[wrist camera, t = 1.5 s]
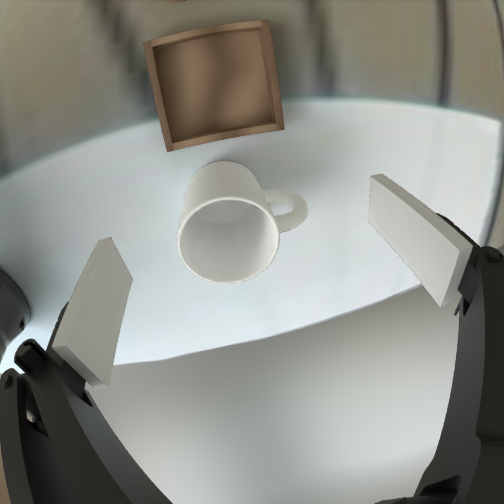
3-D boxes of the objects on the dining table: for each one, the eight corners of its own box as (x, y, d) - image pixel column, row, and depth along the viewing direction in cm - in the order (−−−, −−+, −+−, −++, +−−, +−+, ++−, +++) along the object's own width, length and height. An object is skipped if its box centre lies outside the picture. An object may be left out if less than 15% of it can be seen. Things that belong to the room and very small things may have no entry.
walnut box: (170, 146, 27) (167, 152, 25) (149, 45, 20) (143, 42, 18) (278, 125, 27) (284, 129, 25) (263, 24, 20) (268, 19, 18)
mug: (290, 150, 29) (325, 184, 20) (292, 216, 34) (320, 269, 25) (179, 165, 28) (166, 206, 20) (193, 231, 33) (189, 290, 24)
